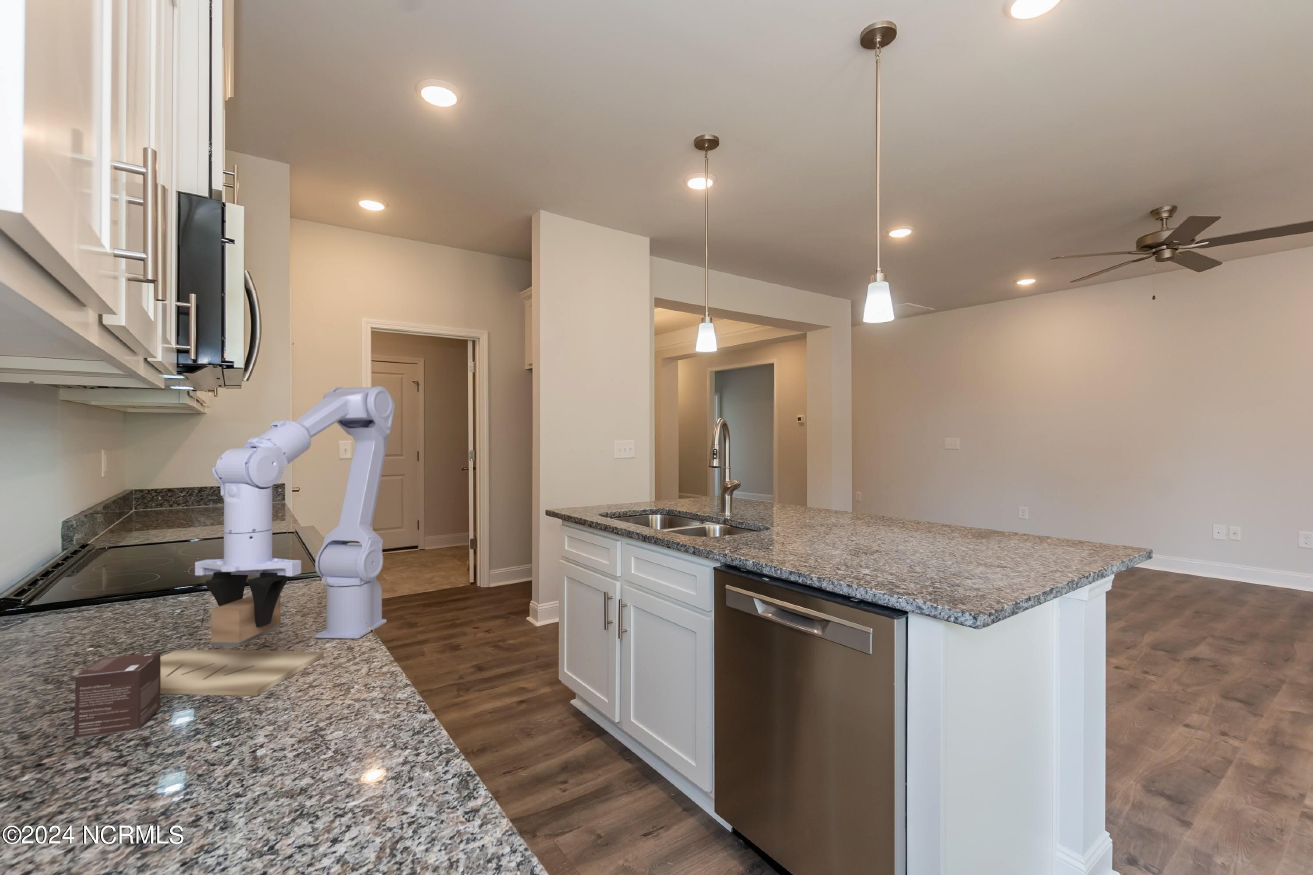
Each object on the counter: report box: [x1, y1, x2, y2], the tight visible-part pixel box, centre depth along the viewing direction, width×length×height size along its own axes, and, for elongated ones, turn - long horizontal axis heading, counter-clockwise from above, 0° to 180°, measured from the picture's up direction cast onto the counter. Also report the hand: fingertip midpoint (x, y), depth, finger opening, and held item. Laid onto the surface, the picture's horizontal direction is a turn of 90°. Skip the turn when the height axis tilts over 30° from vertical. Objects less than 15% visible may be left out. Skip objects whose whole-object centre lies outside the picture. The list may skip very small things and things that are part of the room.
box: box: [73, 651, 162, 740], centre depth 70 cm, size 6×6×7 cm
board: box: [160, 649, 324, 697], centre depth 85 cm, size 14×24×1 cm, turn 87°
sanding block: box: [210, 594, 281, 647], centre depth 83 cm, size 8×4×5 cm, turn 177°
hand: (248, 624), depth 83 cm, fingers closed on sanding block, 4 cm apart
